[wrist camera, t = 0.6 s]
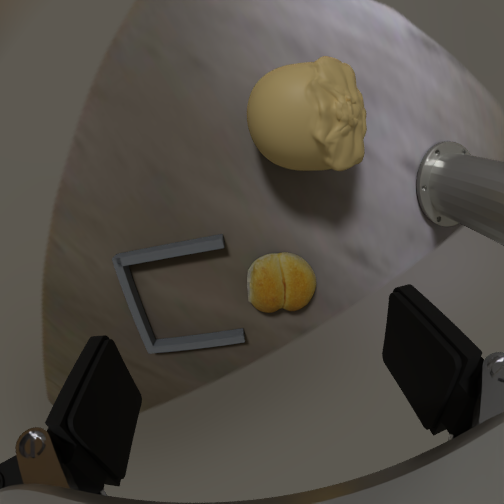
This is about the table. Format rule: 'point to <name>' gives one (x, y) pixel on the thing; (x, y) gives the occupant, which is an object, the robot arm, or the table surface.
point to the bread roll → (280, 282)
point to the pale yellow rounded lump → (309, 116)
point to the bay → (137, 309)
